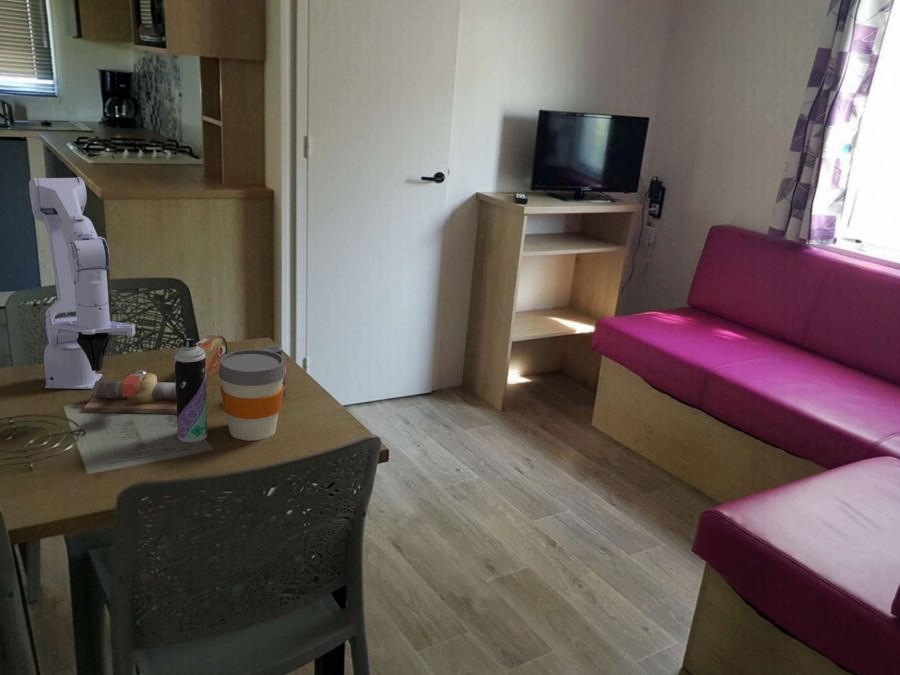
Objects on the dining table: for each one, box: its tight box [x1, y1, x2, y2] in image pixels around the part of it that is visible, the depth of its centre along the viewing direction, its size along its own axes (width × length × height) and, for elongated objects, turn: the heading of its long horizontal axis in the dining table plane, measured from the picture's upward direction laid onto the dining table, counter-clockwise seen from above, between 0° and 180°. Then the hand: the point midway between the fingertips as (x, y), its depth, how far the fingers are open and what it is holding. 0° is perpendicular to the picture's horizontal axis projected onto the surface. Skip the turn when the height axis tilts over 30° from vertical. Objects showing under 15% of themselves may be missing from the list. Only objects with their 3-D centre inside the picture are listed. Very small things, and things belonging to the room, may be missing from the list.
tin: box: [195, 334, 229, 380], centre depth 176 cm, size 15×3×8 cm, turn 166°
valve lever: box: [122, 369, 147, 397], centre depth 154 cm, size 10×2×3 cm, turn 7°
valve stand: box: [83, 372, 177, 415], centre depth 159 cm, size 20×10×6 cm, turn 97°
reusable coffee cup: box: [218, 348, 287, 442], centre depth 150 cm, size 13×13×15 cm
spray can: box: [174, 337, 208, 443], centre depth 144 cm, size 6×6×20 cm
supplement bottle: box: [262, 345, 287, 398], centre depth 166 cm, size 6×6×11 cm
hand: (97, 369), depth 149 cm, fingers closed
